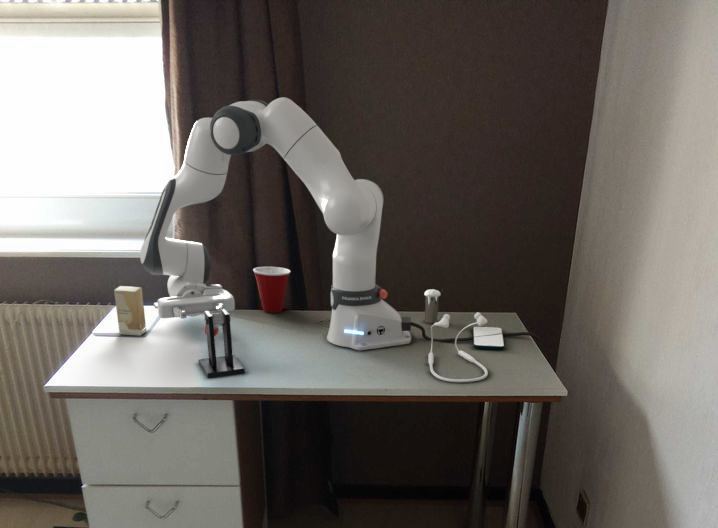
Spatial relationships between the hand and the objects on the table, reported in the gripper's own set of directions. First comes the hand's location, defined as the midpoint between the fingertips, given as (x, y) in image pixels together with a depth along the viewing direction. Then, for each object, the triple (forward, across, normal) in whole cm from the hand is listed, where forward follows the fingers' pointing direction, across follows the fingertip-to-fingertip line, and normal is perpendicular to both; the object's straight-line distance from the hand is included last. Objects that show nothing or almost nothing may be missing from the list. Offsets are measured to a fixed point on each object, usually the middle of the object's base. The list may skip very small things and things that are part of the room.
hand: (201, 313), depth 194 cm
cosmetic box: (-16, -16, +8) cm, 24 cm away
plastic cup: (-22, +26, +8) cm, 35 cm away
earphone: (+38, +53, +8) cm, 66 cm away
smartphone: (+24, +72, +8) cm, 76 cm away
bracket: (+19, 0, +8) cm, 20 cm away
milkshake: (+5, +64, +8) cm, 65 cm away
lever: (+15, 0, 0) cm, 15 cm away
